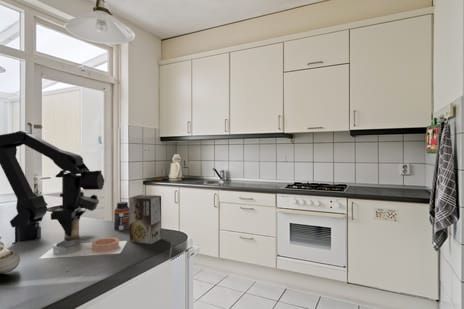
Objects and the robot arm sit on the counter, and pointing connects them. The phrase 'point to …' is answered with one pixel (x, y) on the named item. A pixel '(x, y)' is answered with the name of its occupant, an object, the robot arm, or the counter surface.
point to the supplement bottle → (121, 217)
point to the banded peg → (73, 231)
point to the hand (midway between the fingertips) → (71, 233)
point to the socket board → (85, 251)
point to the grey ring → (67, 247)
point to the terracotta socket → (105, 244)
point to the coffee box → (145, 218)
